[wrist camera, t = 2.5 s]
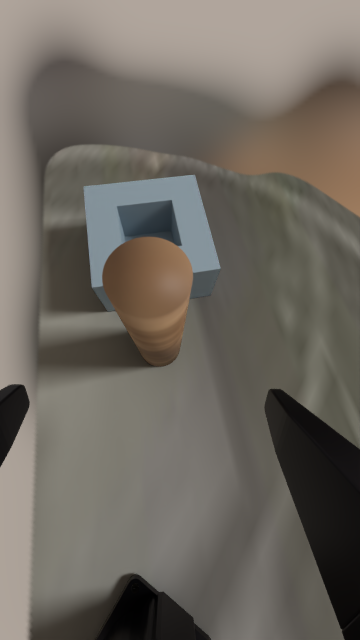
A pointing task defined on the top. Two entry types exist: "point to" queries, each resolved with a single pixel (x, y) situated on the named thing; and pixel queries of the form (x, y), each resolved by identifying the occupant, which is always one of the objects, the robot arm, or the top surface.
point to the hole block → (150, 225)
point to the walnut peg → (150, 294)
